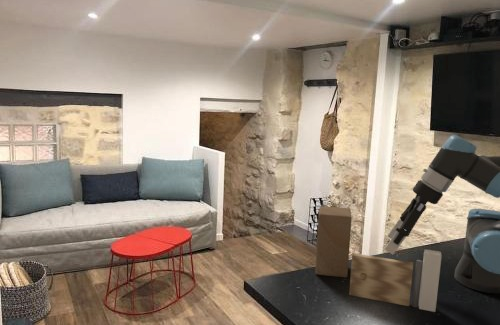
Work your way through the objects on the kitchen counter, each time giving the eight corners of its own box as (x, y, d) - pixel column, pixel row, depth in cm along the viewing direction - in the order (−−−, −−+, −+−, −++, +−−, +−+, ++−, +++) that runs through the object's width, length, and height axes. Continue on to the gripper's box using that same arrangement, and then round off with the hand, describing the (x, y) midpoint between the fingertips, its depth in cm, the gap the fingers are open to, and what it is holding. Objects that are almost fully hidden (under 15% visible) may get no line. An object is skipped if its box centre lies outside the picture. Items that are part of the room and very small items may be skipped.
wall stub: (434, 307, 108) (440, 251, 106) (435, 311, 106) (441, 255, 104) (411, 303, 110) (417, 248, 108) (411, 307, 108) (417, 251, 106)
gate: (409, 303, 110) (413, 262, 108) (409, 308, 108) (413, 266, 106) (349, 292, 116) (352, 253, 114) (348, 296, 113) (351, 256, 111)
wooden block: (347, 278, 125) (351, 216, 121) (315, 274, 127) (318, 214, 123) (346, 265, 134) (350, 208, 131) (316, 262, 136) (319, 205, 133)
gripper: (419, 173, 126) (381, 227, 132) (420, 185, 103) (375, 249, 109) (441, 186, 124) (402, 240, 130) (447, 201, 101) (400, 266, 107)
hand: (390, 244), depth 119 cm, fingers open, 13 cm apart
